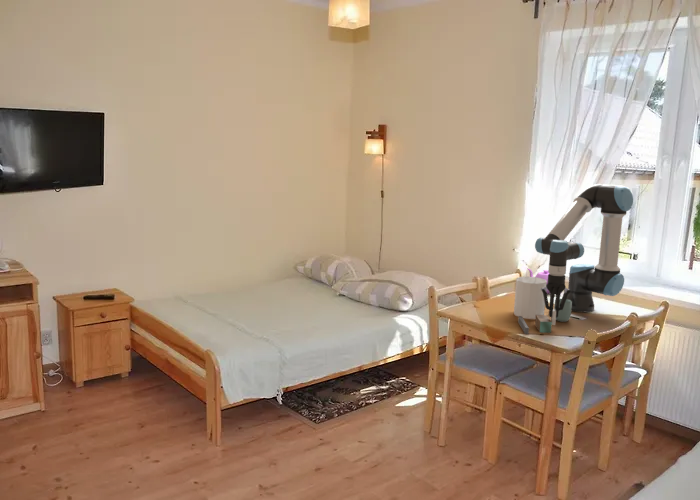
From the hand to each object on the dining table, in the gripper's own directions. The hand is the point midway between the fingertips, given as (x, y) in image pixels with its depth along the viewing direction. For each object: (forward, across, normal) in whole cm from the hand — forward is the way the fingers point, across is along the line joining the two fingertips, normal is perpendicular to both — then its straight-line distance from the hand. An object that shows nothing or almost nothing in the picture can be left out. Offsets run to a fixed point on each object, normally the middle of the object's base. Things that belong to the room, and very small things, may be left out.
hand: (552, 323), depth 283 cm
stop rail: (+3, -13, 0) cm, 14 cm away
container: (+3, -6, +22) cm, 23 cm away
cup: (+3, +8, +14) cm, 16 cm away
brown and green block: (0, -4, -5) cm, 7 cm away
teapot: (+3, +11, +70) cm, 71 cm away
